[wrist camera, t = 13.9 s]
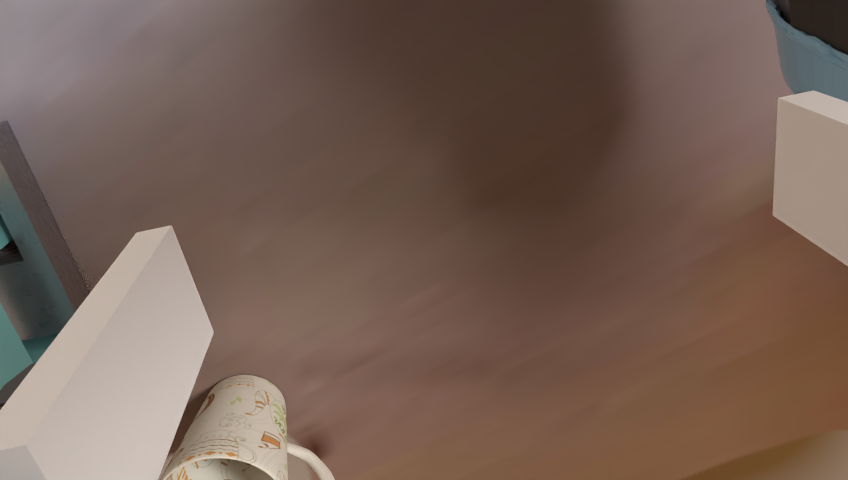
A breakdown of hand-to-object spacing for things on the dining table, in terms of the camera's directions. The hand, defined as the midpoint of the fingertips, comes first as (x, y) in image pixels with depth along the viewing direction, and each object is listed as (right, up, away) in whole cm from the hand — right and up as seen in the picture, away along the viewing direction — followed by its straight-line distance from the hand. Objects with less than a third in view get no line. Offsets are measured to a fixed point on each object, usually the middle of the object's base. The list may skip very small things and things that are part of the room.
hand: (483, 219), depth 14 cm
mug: (-13, -14, +37) cm, 42 cm away
